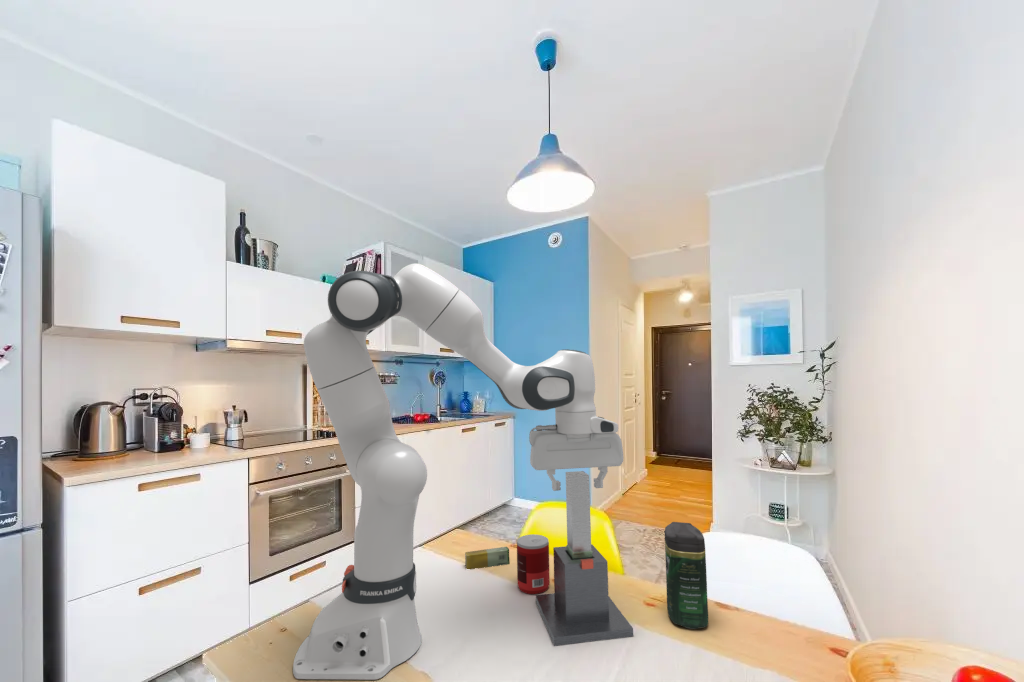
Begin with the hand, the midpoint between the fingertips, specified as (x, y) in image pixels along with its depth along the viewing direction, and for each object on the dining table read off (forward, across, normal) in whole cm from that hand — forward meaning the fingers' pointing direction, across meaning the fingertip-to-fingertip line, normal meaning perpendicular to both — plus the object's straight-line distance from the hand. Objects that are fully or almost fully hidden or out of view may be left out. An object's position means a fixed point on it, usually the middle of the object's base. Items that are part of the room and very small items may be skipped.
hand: (577, 488), depth 92 cm
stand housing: (+27, 0, 0) cm, 27 cm away
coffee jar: (+27, +22, -4) cm, 35 cm away
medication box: (+27, -17, +29) cm, 43 cm away
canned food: (+27, -7, +15) cm, 31 cm away
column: (+19, 0, 0) cm, 19 cm away
